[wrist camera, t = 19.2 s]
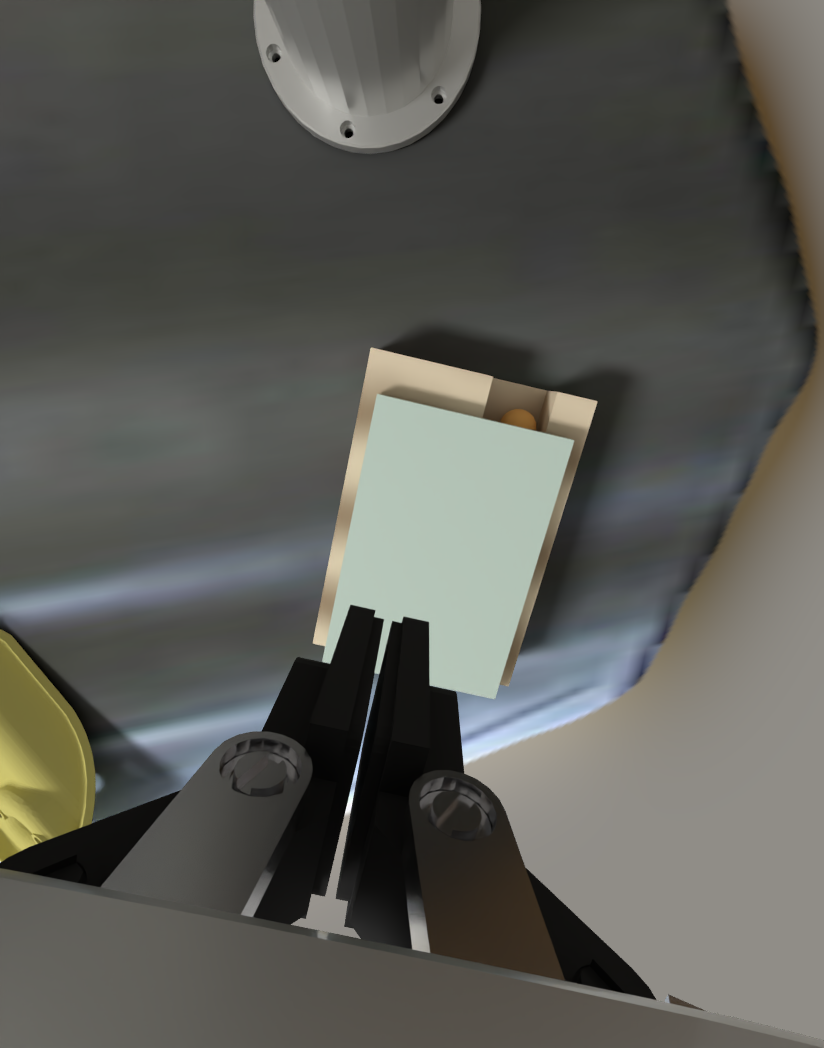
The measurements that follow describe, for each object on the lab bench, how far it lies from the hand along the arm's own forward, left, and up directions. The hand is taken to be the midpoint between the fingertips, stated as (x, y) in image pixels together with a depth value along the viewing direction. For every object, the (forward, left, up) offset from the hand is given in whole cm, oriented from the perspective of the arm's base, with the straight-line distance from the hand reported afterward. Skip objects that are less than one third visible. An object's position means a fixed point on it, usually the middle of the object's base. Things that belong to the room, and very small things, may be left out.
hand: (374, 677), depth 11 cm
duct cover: (+5, +3, -23) cm, 24 cm away
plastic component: (+29, -27, -28) cm, 48 cm away
